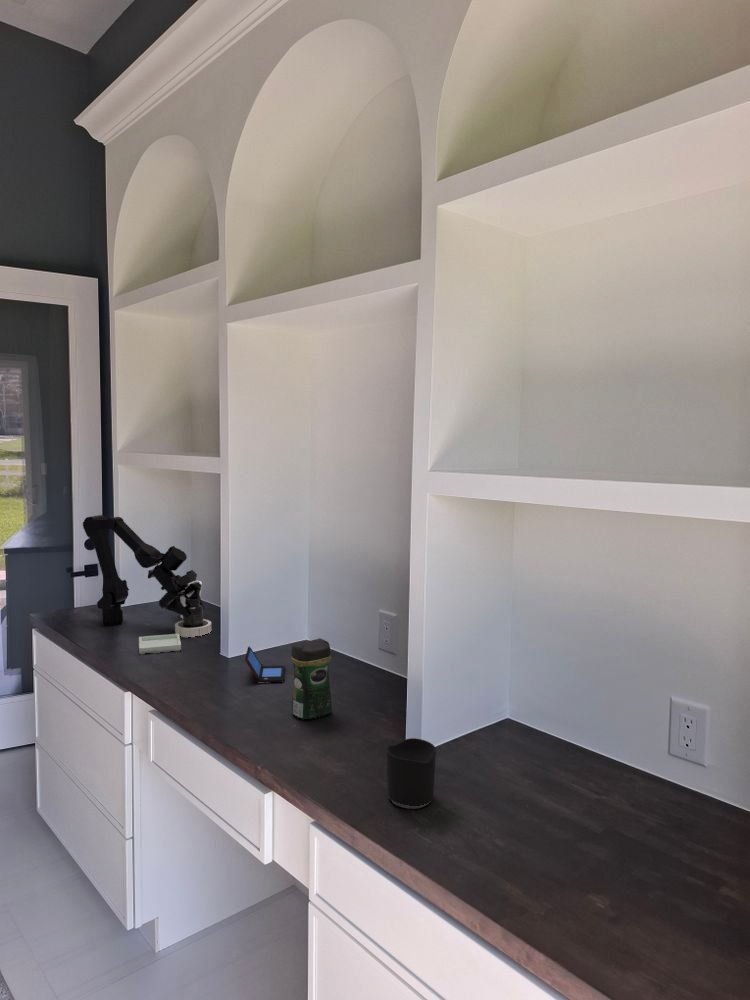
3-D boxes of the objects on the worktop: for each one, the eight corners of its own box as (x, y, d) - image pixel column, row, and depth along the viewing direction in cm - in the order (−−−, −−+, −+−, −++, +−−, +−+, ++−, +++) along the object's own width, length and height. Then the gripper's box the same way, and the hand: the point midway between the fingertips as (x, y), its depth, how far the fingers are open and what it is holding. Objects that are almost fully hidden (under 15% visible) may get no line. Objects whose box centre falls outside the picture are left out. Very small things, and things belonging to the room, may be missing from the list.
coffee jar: (319, 704, 182) (319, 633, 180) (336, 714, 175) (336, 641, 173) (286, 713, 176) (286, 640, 174) (302, 723, 170) (302, 648, 168)
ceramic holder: (176, 638, 237) (175, 629, 236) (174, 628, 248) (174, 620, 248) (212, 635, 240) (212, 627, 240) (209, 626, 252) (209, 617, 251)
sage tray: (139, 654, 220) (139, 648, 220) (139, 642, 232) (139, 636, 232) (181, 650, 224) (181, 644, 224) (179, 639, 236) (178, 633, 235)
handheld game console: (284, 684, 196) (283, 658, 196) (244, 685, 195) (244, 659, 195) (285, 668, 209) (285, 644, 208) (248, 669, 208) (248, 645, 207)
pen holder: (436, 812, 131) (437, 761, 130) (385, 811, 132) (385, 759, 130) (434, 787, 140) (434, 738, 139) (386, 785, 141) (387, 737, 140)
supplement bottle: (204, 629, 248) (203, 595, 247) (202, 634, 241) (202, 600, 240) (184, 629, 247) (183, 596, 246) (182, 635, 240) (181, 600, 239)
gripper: (165, 569, 234) (195, 604, 232) (196, 559, 252) (224, 592, 249) (145, 590, 237) (175, 625, 235) (177, 579, 255) (205, 612, 253)
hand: (196, 613), depth 243 cm, fingers open, 9 cm apart
